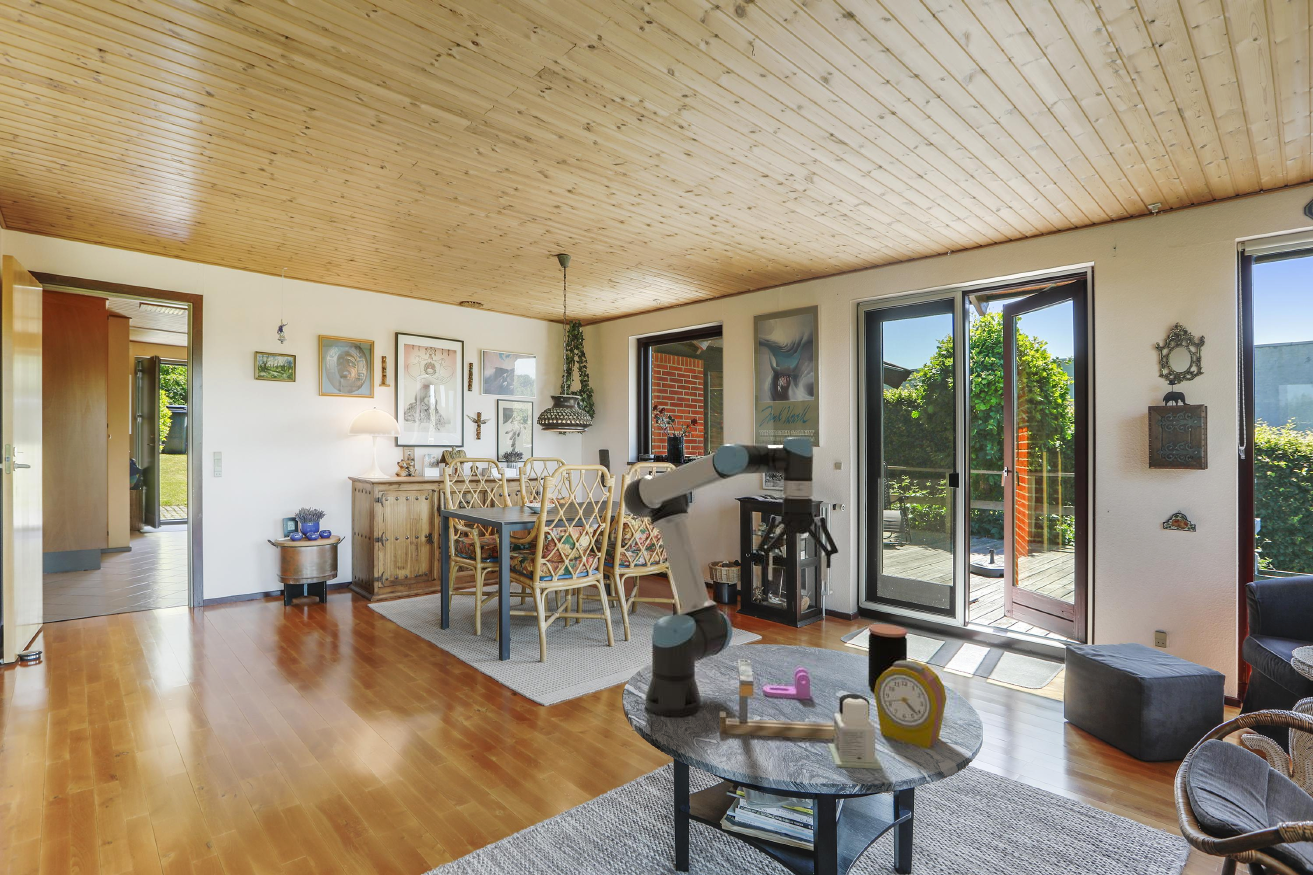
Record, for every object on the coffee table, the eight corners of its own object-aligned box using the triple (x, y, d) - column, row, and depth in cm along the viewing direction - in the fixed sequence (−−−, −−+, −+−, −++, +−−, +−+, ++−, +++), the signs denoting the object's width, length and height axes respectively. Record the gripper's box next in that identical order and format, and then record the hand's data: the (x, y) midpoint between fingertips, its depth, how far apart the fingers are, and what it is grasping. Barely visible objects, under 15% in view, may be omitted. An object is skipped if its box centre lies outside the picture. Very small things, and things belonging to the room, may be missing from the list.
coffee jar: (903, 700, 180) (903, 636, 181) (864, 692, 186) (865, 630, 186) (909, 688, 190) (909, 627, 190) (872, 681, 195) (872, 622, 195)
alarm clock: (873, 733, 159) (873, 658, 159) (885, 722, 165) (885, 651, 165) (935, 751, 149) (936, 672, 149) (946, 740, 155) (946, 664, 156)
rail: (719, 733, 157) (719, 716, 158) (719, 727, 161) (719, 711, 161) (852, 739, 155) (852, 723, 155) (849, 734, 158) (849, 717, 158)
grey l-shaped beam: (739, 746, 144) (740, 680, 145) (736, 718, 160) (737, 658, 160) (752, 747, 144) (753, 681, 145) (749, 719, 159) (749, 659, 160)
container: (833, 745, 150) (833, 689, 150) (867, 747, 149) (867, 691, 150) (840, 761, 142) (840, 702, 143) (875, 763, 142) (875, 704, 142)
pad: (835, 766, 141) (836, 763, 141) (827, 745, 151) (827, 743, 151) (882, 768, 140) (882, 766, 140) (871, 748, 150) (871, 745, 150)
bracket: (807, 692, 186) (807, 668, 186) (809, 699, 180) (810, 674, 180) (762, 689, 187) (762, 665, 188) (763, 696, 182) (763, 672, 182)
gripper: (749, 497, 162) (748, 581, 161) (850, 499, 160) (849, 584, 159) (748, 495, 169) (747, 575, 169) (844, 497, 167) (843, 578, 167)
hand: (797, 580), depth 164 cm, fingers open, 13 cm apart
